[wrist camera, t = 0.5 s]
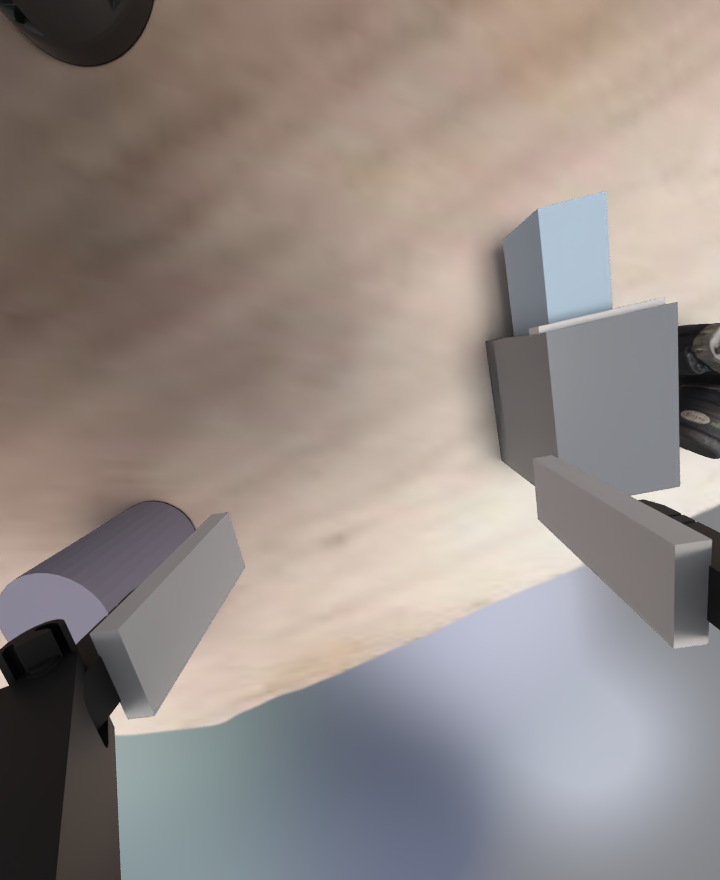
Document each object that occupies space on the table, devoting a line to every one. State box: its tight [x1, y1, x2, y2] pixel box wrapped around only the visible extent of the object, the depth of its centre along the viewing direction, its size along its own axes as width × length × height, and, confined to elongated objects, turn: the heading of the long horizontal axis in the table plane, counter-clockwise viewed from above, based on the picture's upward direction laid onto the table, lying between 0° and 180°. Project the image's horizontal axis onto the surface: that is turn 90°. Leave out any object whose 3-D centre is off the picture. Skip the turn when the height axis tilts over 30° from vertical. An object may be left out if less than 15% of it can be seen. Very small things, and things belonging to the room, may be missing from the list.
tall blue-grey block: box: [503, 191, 612, 336], centre depth 31 cm, size 18×5×7 cm, turn 13°
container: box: [0, 502, 195, 644], centre depth 37 cm, size 10×10×15 cm
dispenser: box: [486, 297, 680, 496], centre depth 32 cm, size 14×9×13 cm, turn 13°
